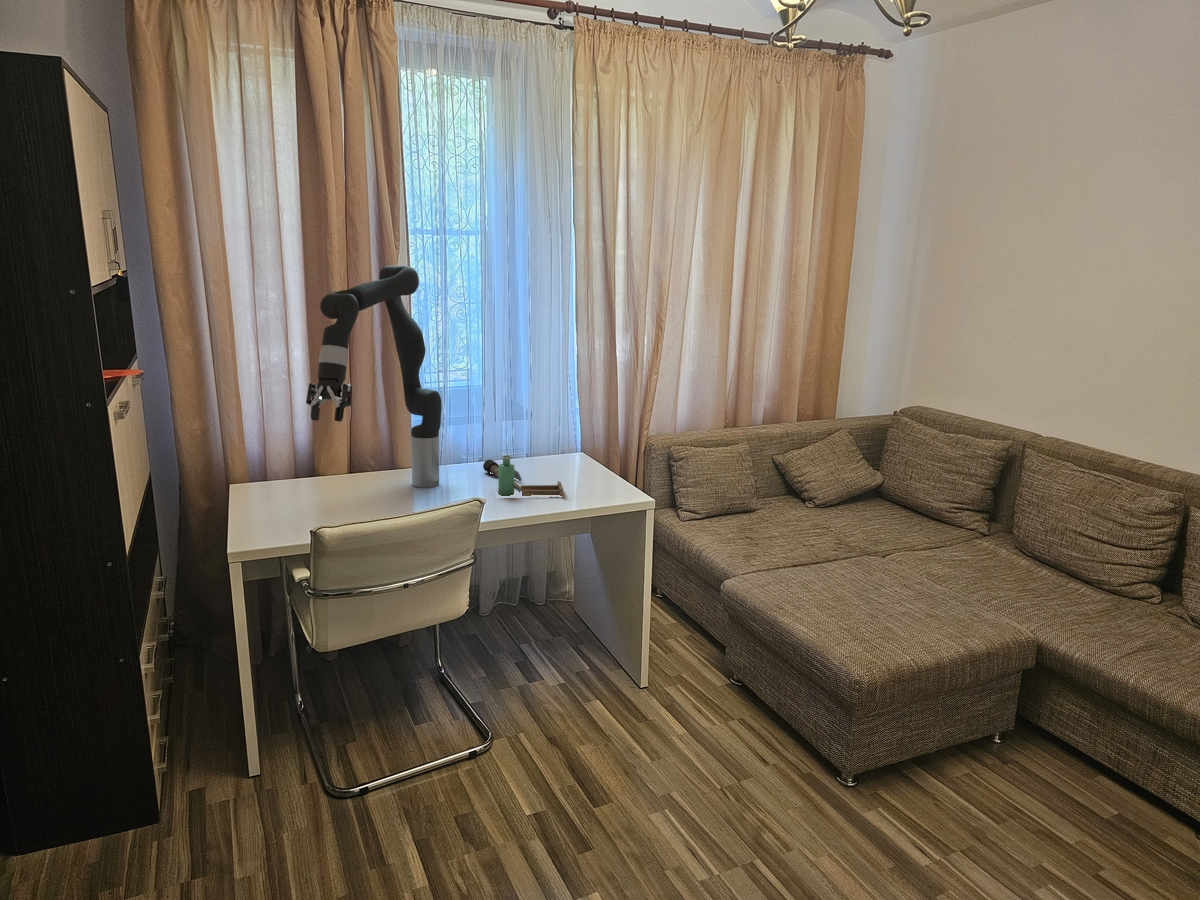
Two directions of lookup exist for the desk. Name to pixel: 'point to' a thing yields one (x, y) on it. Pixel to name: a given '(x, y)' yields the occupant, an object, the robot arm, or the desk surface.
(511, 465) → the bottle
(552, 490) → the cradle
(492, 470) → the wall sconce
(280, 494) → the desk surface
